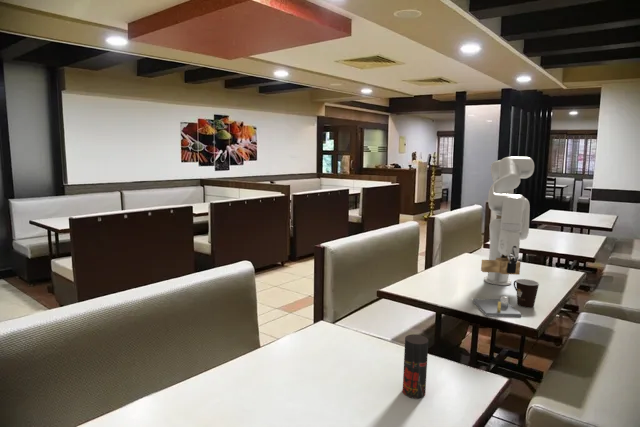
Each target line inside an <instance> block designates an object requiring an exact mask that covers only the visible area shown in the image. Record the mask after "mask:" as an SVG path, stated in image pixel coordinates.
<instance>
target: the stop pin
mask: <svg viewBox="0 0 640 427" xmlns="http://www.w3.org/2000/svg"><path fill="white" fill-rule="evenodd" d="M500 311H501V302H498V308H497V312H500Z"/></svg>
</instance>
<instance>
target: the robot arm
mask: <svg viewBox="0 0 640 427" xmlns="http://www.w3.org/2000/svg"><path fill="white" fill-rule="evenodd" d="M534 172H535V162H534V160H533V159H532V157H529V156H506V157H503V158H502V159H499V160H495V161H493V162H492V163H491V165H490V175H491V179H492V182H493V183H492V184H491V186H490V187H489V190H488V198H487V200H488V201H487V202H488V203H487V204H488V208H489V209H490V210H491V211H492V212H494V214H495V215H496V216H500V217H501V218H495V219H492V220H491V221H490V223H489V254H488V260H496V258H508V260H509V263H508V265H507V273H516V264H517V261H518V260H519V256H520V243H521V241H523V240H526V239H527V238H528V236H529V230H530V211H531V210H530V209H531V208H530V207H531V206H530V201H529V200H528V198H526V197H525V196H523V194H516V193H515V192H514V191H515V190H514V189H516V188H518V187H519V185H520V184H521V179H528V178H530V177H531V176H533V174H534ZM511 258H512V259H511ZM509 275H510V274H501V273H497V272H487V275H486V276H484V278H483V281H485V282H484V283H487V284H490V285H495V286H496V285H497V286H509V285H511V284H512V280H511V279H510V278H509Z"/></svg>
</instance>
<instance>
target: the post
mask: <svg viewBox="0 0 640 427" xmlns="http://www.w3.org/2000/svg"><path fill="white" fill-rule="evenodd" d="M500 299H501V307H504V308H508V304H510V302H509V300H510V296H508V295H501V296H500Z"/></svg>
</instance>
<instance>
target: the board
mask: <svg viewBox="0 0 640 427" xmlns="http://www.w3.org/2000/svg"><path fill="white" fill-rule="evenodd" d="M472 302H473V303H474V304H475V305H476V306H477V307H478V309H479V310H480V311H481V312H482V313H483V314H484V315H485V316H486V317H504V318H505V317H506V318H507V317H512V318H522V314H521V312H520V311H518V309H516V308H515V307H514V306H513V305H512V304H511V303H509V304H508V308H504V307H501V311H500V312H497V308H498V302H501V298H499V299H497V298H472Z"/></svg>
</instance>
